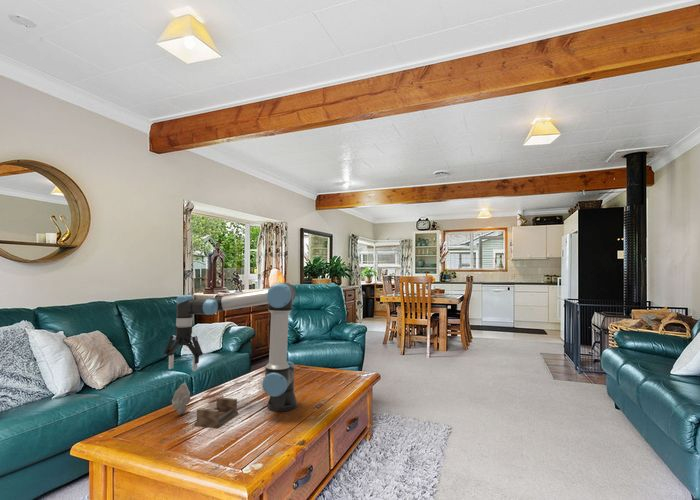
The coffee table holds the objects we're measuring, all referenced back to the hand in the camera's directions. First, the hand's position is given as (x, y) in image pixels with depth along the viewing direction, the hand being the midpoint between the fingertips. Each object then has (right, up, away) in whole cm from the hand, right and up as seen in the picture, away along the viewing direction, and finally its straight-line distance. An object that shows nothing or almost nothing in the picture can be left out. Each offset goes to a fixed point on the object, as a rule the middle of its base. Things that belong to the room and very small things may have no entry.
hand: (182, 369), depth 189 cm
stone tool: (0, -22, -2) cm, 22 cm away
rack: (+20, -21, -8) cm, 30 cm away
